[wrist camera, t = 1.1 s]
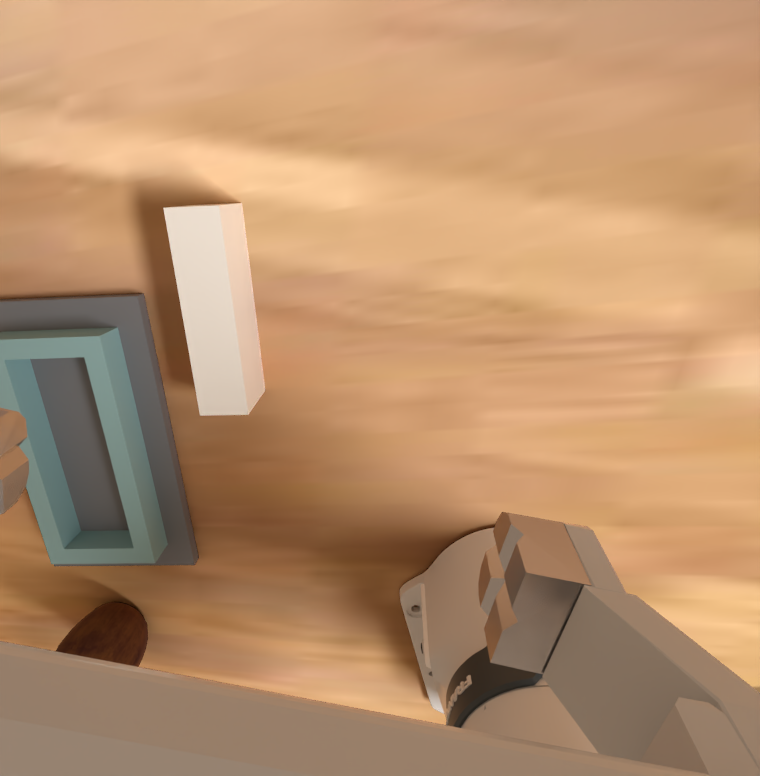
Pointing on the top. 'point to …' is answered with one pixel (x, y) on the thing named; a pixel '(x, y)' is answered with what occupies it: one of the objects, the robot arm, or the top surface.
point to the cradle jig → (95, 430)
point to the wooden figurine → (109, 635)
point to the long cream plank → (217, 305)
